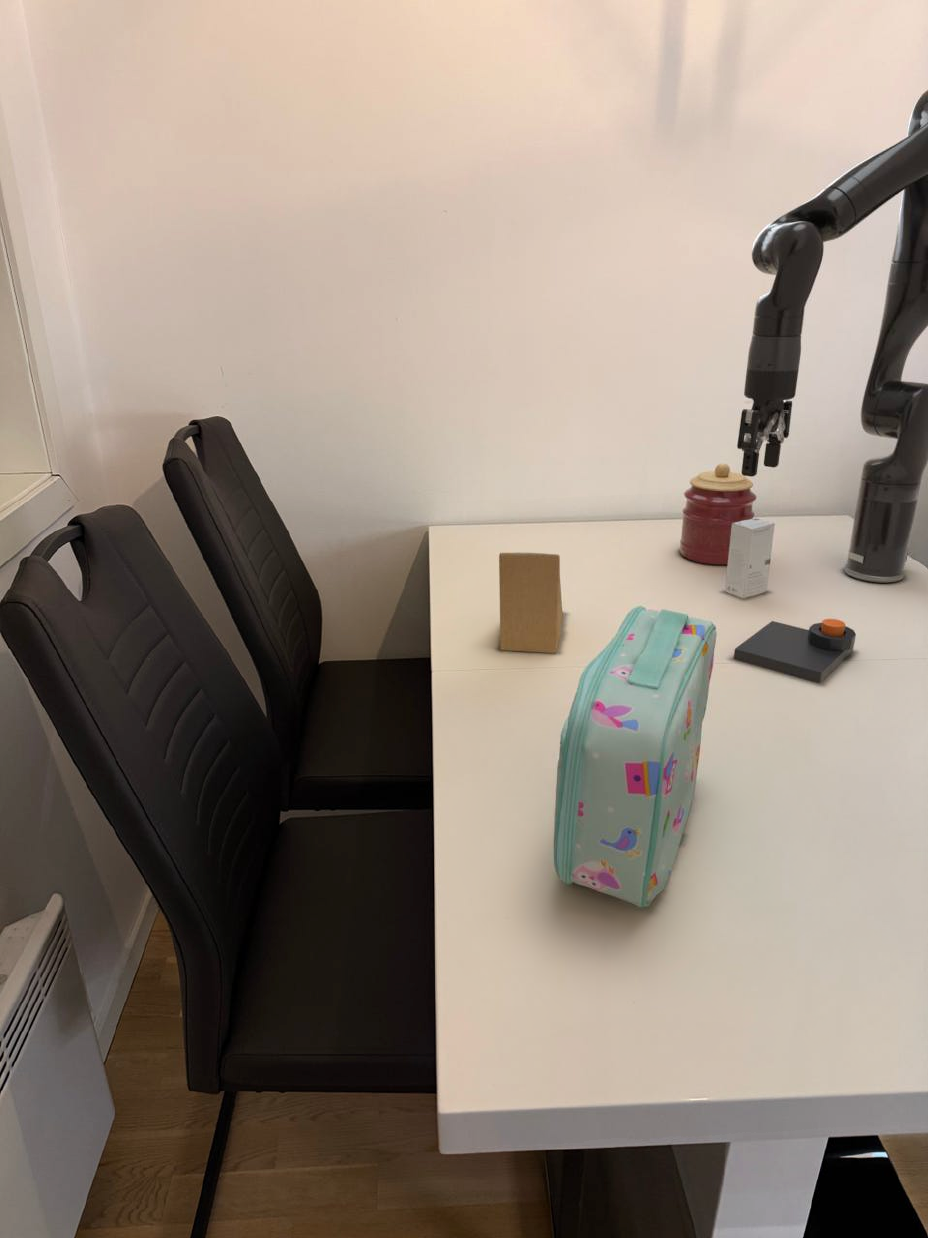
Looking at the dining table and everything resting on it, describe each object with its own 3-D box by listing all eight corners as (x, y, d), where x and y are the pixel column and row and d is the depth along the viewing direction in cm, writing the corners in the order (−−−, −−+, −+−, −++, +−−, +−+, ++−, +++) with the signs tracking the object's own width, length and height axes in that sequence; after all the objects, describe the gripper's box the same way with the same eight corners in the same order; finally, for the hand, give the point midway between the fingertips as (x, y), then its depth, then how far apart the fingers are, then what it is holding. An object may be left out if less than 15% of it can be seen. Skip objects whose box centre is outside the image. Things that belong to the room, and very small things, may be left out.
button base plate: (771, 630, 127) (774, 608, 126) (857, 651, 120) (861, 629, 118) (733, 659, 118) (736, 637, 117) (823, 685, 110) (827, 661, 109)
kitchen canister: (757, 550, 162) (768, 460, 156) (738, 570, 152) (749, 474, 146) (691, 541, 169) (699, 453, 162) (669, 559, 159) (676, 466, 152)
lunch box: (612, 752, 96) (622, 576, 88) (704, 770, 92) (724, 588, 84) (540, 904, 73) (545, 686, 65) (659, 936, 69) (680, 709, 61)
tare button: (825, 627, 120) (826, 616, 120) (846, 632, 118) (848, 622, 118) (817, 633, 118) (819, 623, 117) (839, 638, 116) (841, 628, 116)
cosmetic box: (744, 599, 139) (752, 529, 134) (722, 591, 143) (730, 522, 138) (768, 591, 142) (777, 522, 138) (746, 584, 146) (754, 516, 141)
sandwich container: (564, 613, 135) (567, 523, 129) (557, 653, 121) (560, 554, 115) (511, 610, 136) (512, 521, 130) (498, 650, 122) (498, 552, 117)
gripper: (778, 371, 121) (764, 482, 127) (814, 363, 131) (800, 466, 137) (729, 368, 126) (718, 475, 132) (767, 360, 135) (755, 460, 142)
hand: (760, 470), depth 134 cm, fingers open, 8 cm apart
